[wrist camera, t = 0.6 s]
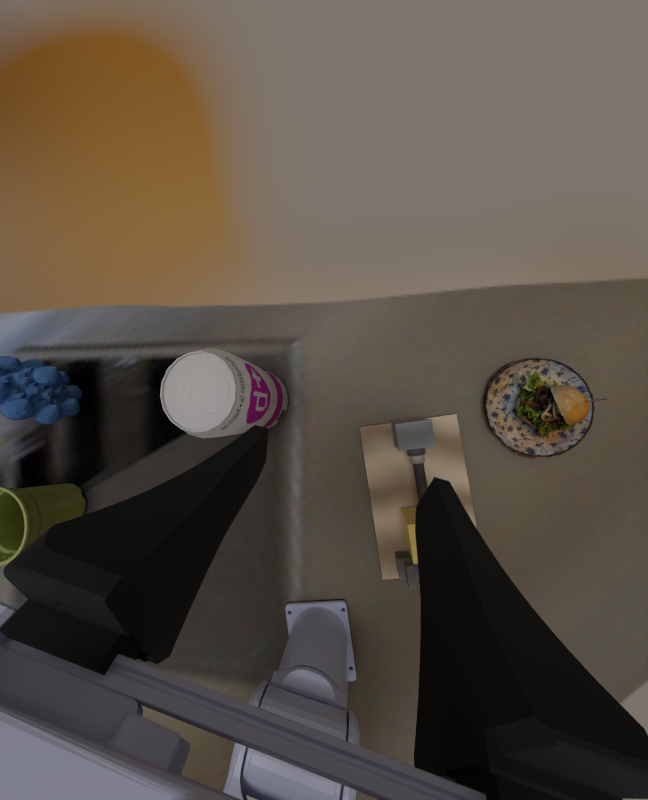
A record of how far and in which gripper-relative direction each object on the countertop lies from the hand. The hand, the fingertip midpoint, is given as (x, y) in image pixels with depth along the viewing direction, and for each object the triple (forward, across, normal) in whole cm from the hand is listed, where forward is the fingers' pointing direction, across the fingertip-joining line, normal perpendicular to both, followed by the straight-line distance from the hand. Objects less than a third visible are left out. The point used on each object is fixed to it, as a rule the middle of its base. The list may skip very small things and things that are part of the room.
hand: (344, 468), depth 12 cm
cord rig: (+16, -11, +18) cm, 27 cm away
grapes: (+20, +40, +20) cm, 49 cm away
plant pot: (+9, +37, +34) cm, 51 cm away
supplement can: (+21, +12, +14) cm, 29 cm away
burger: (+25, -21, +7) cm, 33 cm away
